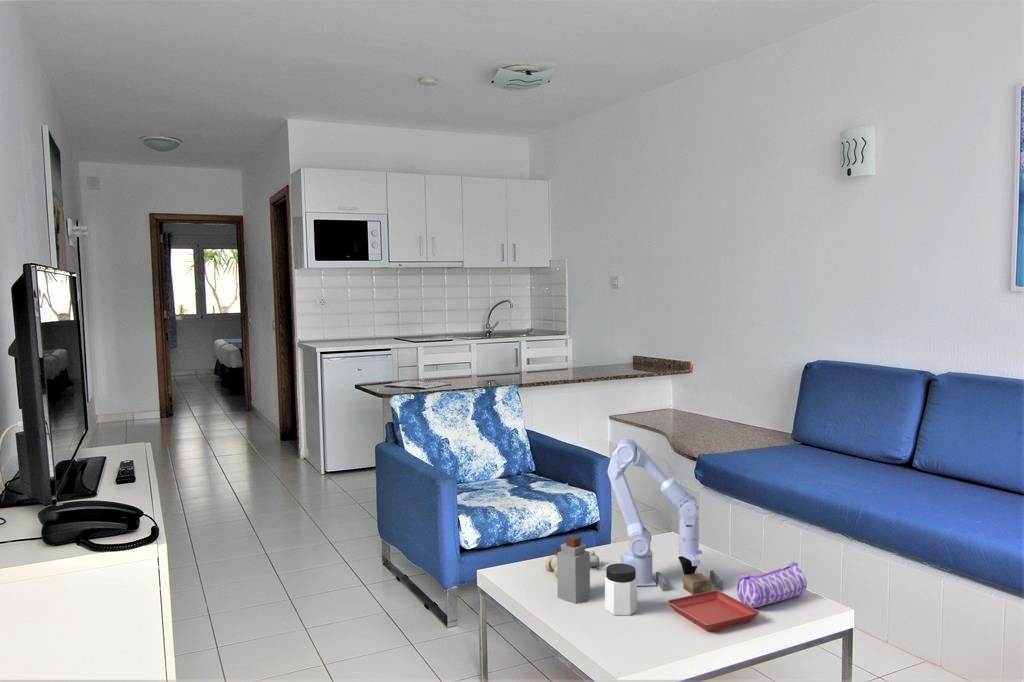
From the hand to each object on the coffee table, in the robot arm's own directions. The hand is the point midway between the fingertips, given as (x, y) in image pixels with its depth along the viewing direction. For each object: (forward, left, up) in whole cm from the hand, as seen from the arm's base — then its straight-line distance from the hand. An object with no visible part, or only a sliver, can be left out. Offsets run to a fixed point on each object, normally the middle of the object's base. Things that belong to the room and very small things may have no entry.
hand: (688, 581), depth 235 cm
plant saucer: (0, -22, -2) cm, 22 cm away
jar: (-24, -16, -1) cm, 29 cm away
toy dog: (-34, +16, -2) cm, 37 cm away
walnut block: (+1, -4, -1) cm, 5 cm away
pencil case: (+20, -13, -2) cm, 25 cm away
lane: (0, 0, -1) cm, 1 cm away
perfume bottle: (-36, -6, -1) cm, 37 cm away
